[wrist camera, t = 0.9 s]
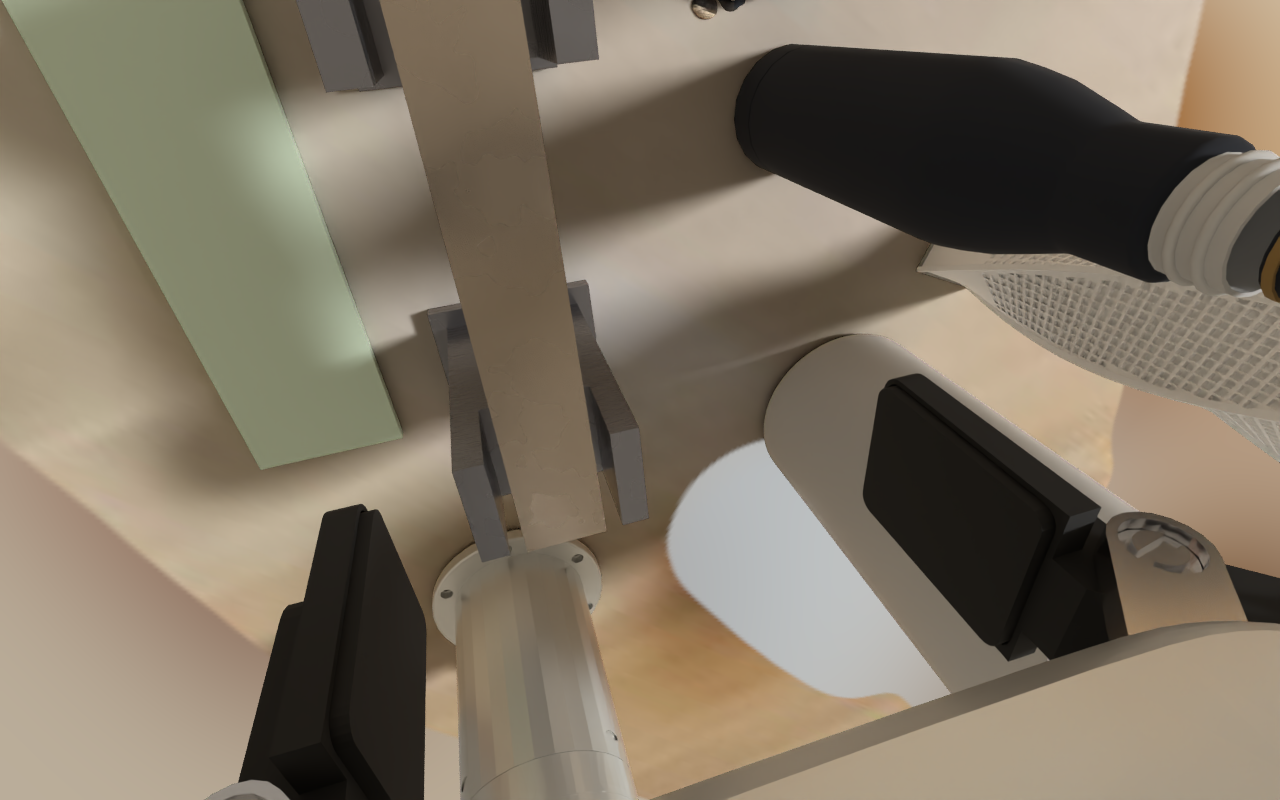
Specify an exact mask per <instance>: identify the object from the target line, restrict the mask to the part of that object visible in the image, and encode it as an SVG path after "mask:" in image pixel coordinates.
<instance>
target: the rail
mask: <svg viewBox="0 0 1280 800" xmlns="http://www.w3.org/2000/svg"><path fill="white" fill-rule="evenodd" d="M379 1H380V4H381V8H382V12H383V16H384V19H385V23H386V27H387V31H388V34H389V38H390V42H391V45H392V49H393V53H394V57H395V60H396V64H397V68H398V72H399V75H400V79H401V83H402V86H403V90H404V94H405V98H406V101H407V105H408V109H409V113H410V116H411V120H412V124H413V127H414V131H415V135H416V139H417V142H418V146H419V150H420V154H421V157H422V161H423V165H424V168H425V172H426V176H427V180H428V183H429V187H430V191H431V194H432V198H433V202H434V206H435V209H436V213H437V217H438V221H439V224H440V228H441V232H442V235H443V239H444V243H445V247H446V250H447V254H448V258H449V262H450V265H451V269H452V273H453V276H454V280H455V284H456V288H457V291H458V295H459V299H460V303H461V306H462V310H463V314H464V317H465V321H466V325H467V329H468V332H469V336H470V340H471V344H472V347H473V351H474V355H475V358H476V362H477V366H478V370H479V373H480V377H481V381H482V385H483V388H484V392H485V396H486V399H487V403H488V407H489V411H490V414H491V418H492V422H493V426H494V429H495V433H496V437H497V440H498V444H499V448H500V452H501V455H502V459H503V463H504V467H505V470H506V474H507V478H508V481H509V485H510V489H511V493H512V496H513V500H514V504H515V508H516V511H517V515H518V519H519V522H520V526H521V530H522V534H523V537H524V541H525V545H526V549H527V552H531V551H534V550H538V549H542V548H546V547H549V546H553V545H557V544H561V543H564V542H568V541H572V540H576V539H579V538H583V537H587V536H591V535H594V534H598V533H602V532H606V531H607V529H606V523H605V517H604V511H603V504H602V498H601V492H600V486H599V480H598V474H597V468H596V461H595V455H594V449H593V443H592V437H591V431H590V425H589V418H588V412H587V406H586V400H585V394H584V388H583V382H582V375H581V369H580V363H579V357H578V351H577V345H576V338H575V332H574V326H573V320H572V314H571V308H570V302H569V295H568V289H567V283H566V277H565V271H564V265H563V259H562V252H561V246H560V240H559V234H558V228H557V222H556V216H555V209H554V203H553V197H552V191H551V185H550V179H549V172H548V166H547V160H546V154H545V148H544V142H543V136H542V129H541V123H540V117H539V111H538V105H537V99H536V93H535V86H534V80H533V74H532V68H531V62H530V56H529V50H528V43H527V37H526V31H525V25H524V19H523V13H522V6H521V0H379Z"/></svg>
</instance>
